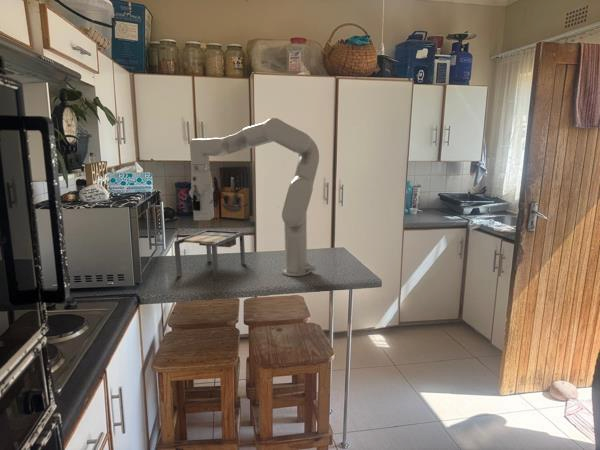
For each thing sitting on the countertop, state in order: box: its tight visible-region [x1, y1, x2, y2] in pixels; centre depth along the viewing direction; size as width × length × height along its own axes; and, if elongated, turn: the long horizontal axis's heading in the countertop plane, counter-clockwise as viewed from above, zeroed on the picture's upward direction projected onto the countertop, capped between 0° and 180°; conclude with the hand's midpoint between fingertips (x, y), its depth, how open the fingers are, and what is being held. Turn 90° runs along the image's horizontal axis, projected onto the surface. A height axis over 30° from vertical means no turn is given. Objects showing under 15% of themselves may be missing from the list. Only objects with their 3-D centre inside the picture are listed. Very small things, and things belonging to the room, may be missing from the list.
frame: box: [173, 229, 246, 282], centre depth 177 cm, size 20×25×16 cm
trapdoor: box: [183, 232, 237, 248], centre depth 176 cm, size 16×17×5 cm
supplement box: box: [192, 189, 215, 221], centre depth 169 cm, size 7×7×13 cm
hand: (203, 208), depth 170 cm, fingers closed on supplement box, 8 cm apart
